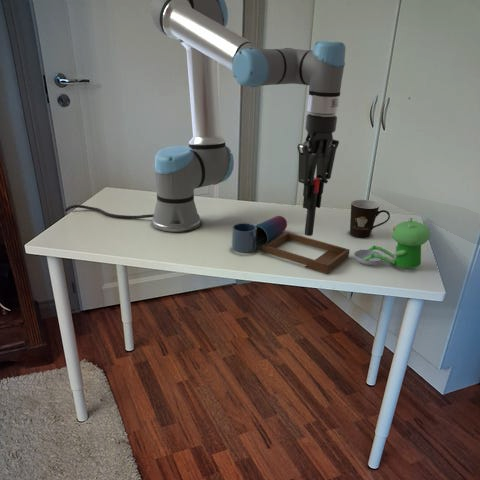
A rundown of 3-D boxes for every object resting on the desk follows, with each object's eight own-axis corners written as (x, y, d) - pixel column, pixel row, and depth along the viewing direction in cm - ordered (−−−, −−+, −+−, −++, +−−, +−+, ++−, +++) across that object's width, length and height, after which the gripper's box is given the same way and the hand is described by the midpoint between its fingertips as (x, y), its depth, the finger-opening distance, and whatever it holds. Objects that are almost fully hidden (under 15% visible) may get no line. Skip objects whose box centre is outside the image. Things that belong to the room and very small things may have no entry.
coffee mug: (341, 234, 152) (345, 203, 147) (355, 227, 158) (360, 197, 152) (373, 244, 145) (379, 213, 140) (386, 237, 151) (393, 206, 146)
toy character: (359, 255, 141) (363, 212, 134) (424, 260, 136) (431, 216, 129) (357, 268, 133) (361, 224, 126) (425, 274, 128) (433, 228, 121)
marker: (302, 234, 133) (308, 178, 124) (306, 231, 134) (312, 176, 126) (310, 236, 131) (317, 180, 123) (314, 234, 133) (321, 178, 125)
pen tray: (262, 253, 137) (263, 245, 135) (286, 239, 146) (287, 232, 145) (327, 274, 127) (328, 265, 125) (348, 257, 136) (349, 249, 135)
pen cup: (226, 250, 138) (227, 228, 134) (240, 243, 143) (241, 221, 139) (246, 257, 134) (247, 234, 131) (260, 249, 139) (261, 226, 136)
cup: (287, 236, 150) (265, 251, 139) (268, 230, 153) (245, 244, 141) (291, 216, 147) (269, 229, 135) (272, 210, 149) (249, 222, 138)
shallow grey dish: (353, 265, 132) (354, 259, 131) (353, 254, 138) (354, 248, 137) (382, 269, 130) (383, 262, 129) (381, 257, 137) (383, 251, 136)
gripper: (311, 118, 110) (301, 216, 122) (354, 114, 118) (340, 205, 131) (288, 114, 115) (281, 208, 127) (331, 109, 123) (320, 198, 136)
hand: (311, 207), depth 129 cm, fingers closed on marker, 3 cm apart
